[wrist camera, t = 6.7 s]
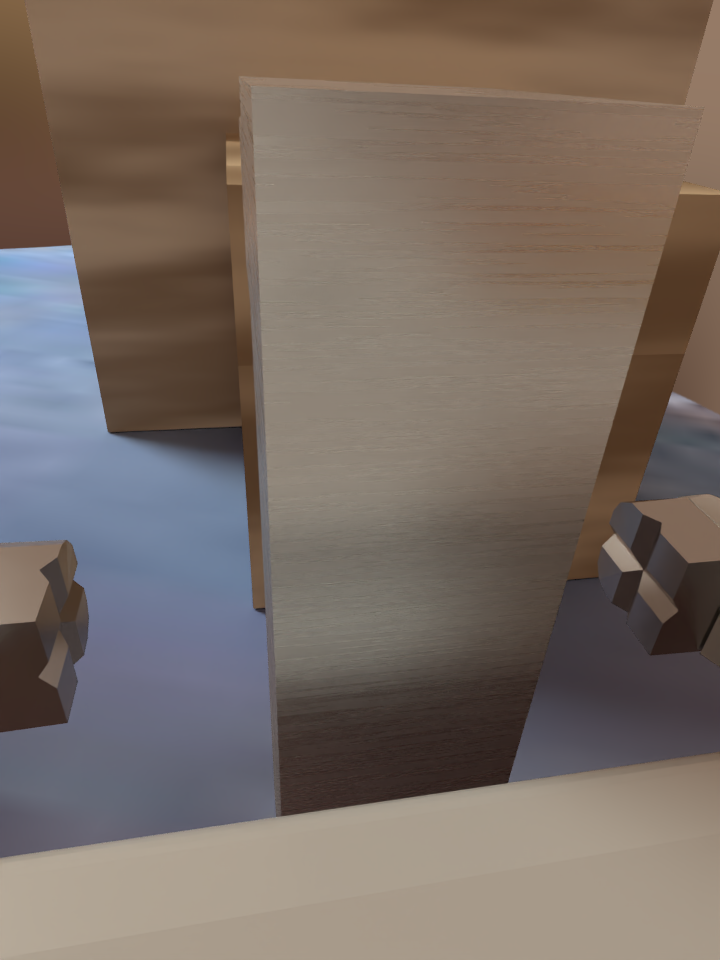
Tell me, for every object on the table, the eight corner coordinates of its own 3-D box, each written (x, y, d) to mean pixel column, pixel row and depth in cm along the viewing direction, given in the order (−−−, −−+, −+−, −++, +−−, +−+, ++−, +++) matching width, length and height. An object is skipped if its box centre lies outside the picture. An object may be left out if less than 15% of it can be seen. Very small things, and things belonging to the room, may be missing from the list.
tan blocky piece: (763, 561, 23) (1105, -118, 13) (46, 627, 19) (-243, -295, 9) (573, 386, 35) (675, -29, 25) (117, 402, 31) (30, -86, 21)
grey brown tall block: (450, 977, 12) (705, 106, 4) (289, 1009, 11) (251, 86, 4) (386, 714, 17) (450, 84, 9) (269, 729, 16) (236, 73, 9)
